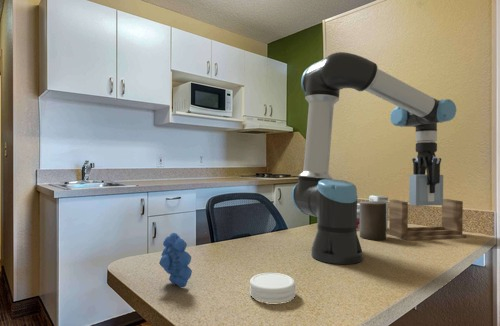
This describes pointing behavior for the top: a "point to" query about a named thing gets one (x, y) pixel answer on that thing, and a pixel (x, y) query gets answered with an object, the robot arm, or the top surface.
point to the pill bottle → (358, 217)
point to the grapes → (176, 260)
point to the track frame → (449, 228)
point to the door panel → (424, 191)
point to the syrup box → (381, 199)
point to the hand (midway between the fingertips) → (425, 200)
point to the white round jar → (272, 287)
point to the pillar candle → (373, 220)
